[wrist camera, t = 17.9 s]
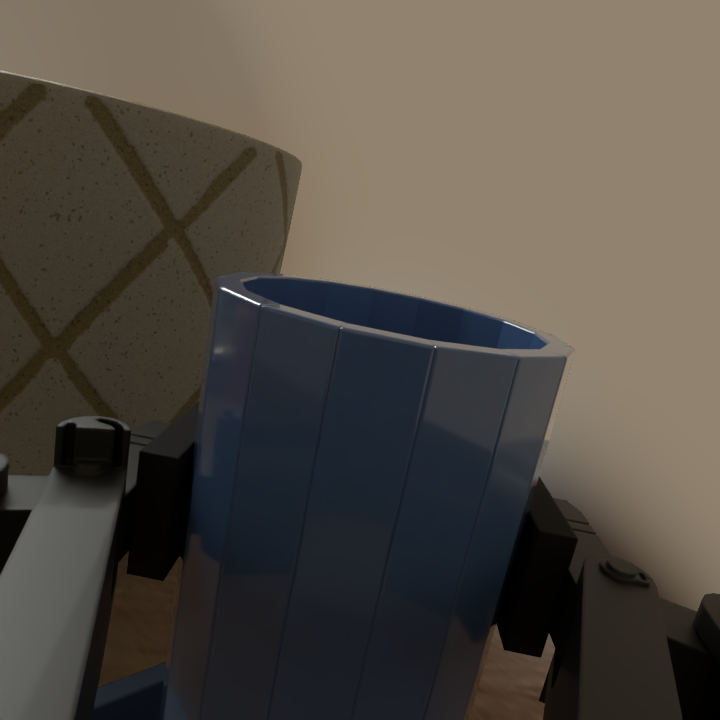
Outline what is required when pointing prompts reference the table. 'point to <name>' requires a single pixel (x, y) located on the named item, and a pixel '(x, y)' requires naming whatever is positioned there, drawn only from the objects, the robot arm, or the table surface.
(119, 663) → the table surface
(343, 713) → the blue cup
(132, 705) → the blue tray
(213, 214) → the planter
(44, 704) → the robot arm
